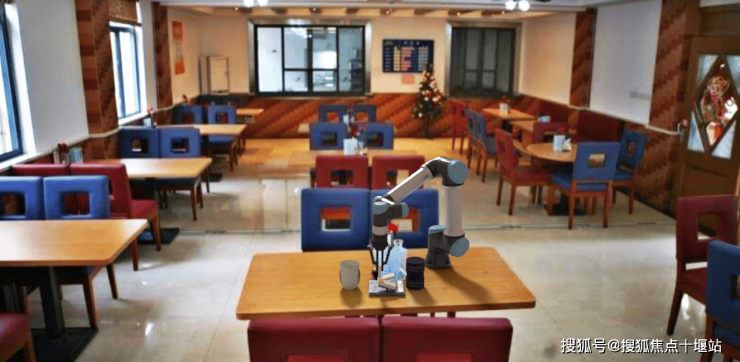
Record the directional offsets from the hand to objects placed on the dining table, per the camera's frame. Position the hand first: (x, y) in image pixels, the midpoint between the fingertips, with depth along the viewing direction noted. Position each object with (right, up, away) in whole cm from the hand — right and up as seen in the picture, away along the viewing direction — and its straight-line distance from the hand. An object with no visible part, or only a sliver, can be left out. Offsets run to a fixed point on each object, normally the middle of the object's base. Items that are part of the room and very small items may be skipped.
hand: (379, 276), depth 290 cm
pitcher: (-15, -7, +10) cm, 20 cm away
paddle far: (+4, -2, +8) cm, 9 cm away
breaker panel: (+4, -8, +6) cm, 10 cm away
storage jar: (+19, -7, +10) cm, 22 cm away
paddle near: (+4, -4, +1) cm, 5 cm away
